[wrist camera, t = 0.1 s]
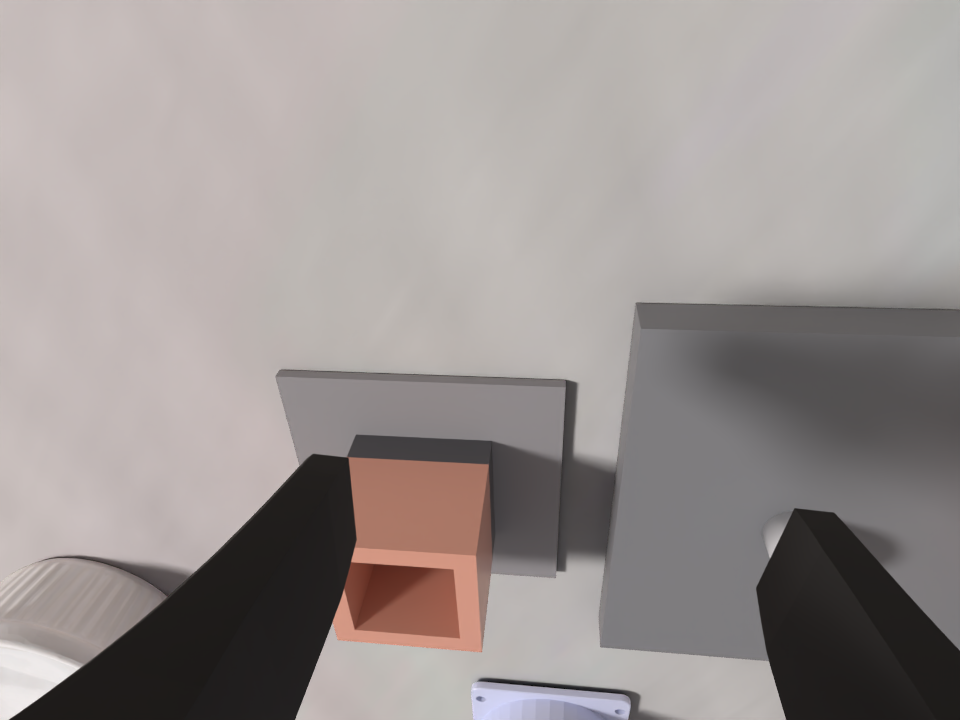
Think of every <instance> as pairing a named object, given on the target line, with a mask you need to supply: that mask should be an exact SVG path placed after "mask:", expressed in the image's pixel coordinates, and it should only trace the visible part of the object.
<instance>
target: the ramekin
mask: <svg viewBox="0 0 960 720" xmlns="http://www.w3.org/2000/svg"><path fill="white" fill-rule="evenodd" d="M166 598H167V596H166V595H165V594H164V593H162V592H161V591H160V590H158V589H157V588H156V587H154V586H153V585H151V584H150V583H148V582H146V581H145V580H143V579H141V578H139V577H137V576H135V575H133V574H131V573H129V572H126V571H124V570H122V569H119V568H116V567H113V566H110V565H107V564H104V563H100V562H96V561H91V560H86V559H79V558H54V559H48V560H44V561H40V562H37V563H33V564H31V565H28V566H25V567H23V568H21V569H19V570H17V571H15V572H13V573H12V574H10V575H9V576H7V577H6V578H5V579H4V580H3V581H2V582H1V583H0V720H9V719H10V718H12V717H13V716H15V715H16V714H18V713H19V712H20V711H22V710H23V709H25V708H26V707H28V706H29V705H30V704H32V703H33V702H35V701H36V700H37V699H39V698H40V697H42V696H43V695H44V694H46V693H47V692H48V691H50V690H51V689H52V688H54V687H55V686H57V685H58V684H59V683H61V682H62V681H63V680H65V679H66V678H67V677H69V676H70V675H71V674H73V673H74V672H75V671H77V670H78V669H79V668H81V667H82V666H83V665H85V664H86V663H88V662H89V661H90V660H92V659H93V658H94V657H95V656H97V655H98V654H99V653H101V652H102V651H103V650H104V649H106V648H107V647H108V646H109V645H111V644H112V643H113V642H114V641H116V640H117V639H118V638H119V637H121V636H122V635H123V634H124V633H126V632H127V631H128V630H129V629H131V628H132V627H133V626H134V625H135V624H137V623H138V622H139V621H140V620H141V619H143V618H144V617H145V616H146V615H147V614H149V613H150V612H151V611H152V610H153V609H154V608H156V607H157V606H158V605H159V604H160V603H161V602H163V601H164V600H165V599H166Z"/></svg>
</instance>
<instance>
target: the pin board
mask: <svg viewBox="0 0 960 720" xmlns="http://www.w3.org/2000/svg"><path fill="white" fill-rule="evenodd" d="M794 508H799V509H807V510H816V511H825V512H834V513H835V514H836V515H837V516H838V517H839V518H840V519H841V520H842V521H843V522H844V523H845V525H846V526H847V527H848V528H849V529H850V530H851V531H852V532H853V533H854V535H855V536H856V537H857V538H858V539H859V540H860V541H861V542H862V543H863V545H864V546H865V547H866V548H867V549H868V550H869V551H870V552H871V554H872V555H873V556H874V557H875V558H876V559H877V560H878V561H879V563H880V564H881V565H882V566H883V567H884V568H885V569H886V570H887V572H888V573H889V574H890V575H891V576H892V577H893V578H894V579H895V581H896V582H897V583H898V584H899V585H900V586H901V587H902V588H903V589H904V591H905V592H906V593H907V594H908V595H909V596H910V597H911V598H912V599H913V601H914V602H915V603H916V604H917V605H918V606H919V607H920V608H921V609H922V610H923V612H924V613H925V614H926V615H927V616H928V617H929V618H930V619H931V620H932V621H933V622H934V623H935V625H936V626H937V627H938V628H939V629H940V630H941V631H942V632H943V633H944V634H945V635H946V636H947V637H948V639H949V640H950V641H951V642H952V643H953V644H954V645H955V646H956V647H957V648H958V649H959V650H960V310H932V309H886V308H840V307H794V306H748V305H703V304H657V303H636V306H635V315H634V323H633V332H632V340H631V348H630V357H629V365H628V374H627V382H626V391H625V399H624V407H623V416H622V424H621V433H620V441H619V450H618V458H617V467H616V475H615V483H614V492H613V500H612V509H611V517H610V526H609V534H608V542H607V551H606V559H605V568H604V576H603V585H602V593H601V601H600V610H599V630H600V647H604V648H616V649H629V650H641V651H653V652H665V653H677V654H689V655H702V656H714V657H726V658H738V659H750V660H763V661H769V659H768V655H767V652H766V646H765V641H764V635H763V630H762V624H761V618H760V612H759V605H758V598H757V592H756V587H757V585H758V583H759V581H760V578H761V576H762V574H763V572H764V570H765V568H766V566H767V564H768V562H769V560H770V558H771V556H772V554H773V552H774V549H775V547H776V545H777V543H778V541H779V539H780V537H781V535H782V533H783V531H784V529H785V527H786V525H787V523H788V520H789V518H790V516H791V514H792V512H793V510H794Z"/></svg>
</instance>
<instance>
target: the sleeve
mask: <svg viewBox="0 0 960 720" xmlns="http://www.w3.org/2000/svg"><path fill="white" fill-rule="evenodd" d="M347 458H349V466H350V476H351V486H352V496H353V506H354V516H355V526H356V537H357V541H356V545H355V549H354V553H353V557H352V561H351V565H350V568H349V572H348V576H347V580H346V583H345V587H344V591H343V595H342V598H341V601H340V603H339V606H338V609H337V611H336V614H335V617H334V619H333V624H334V628H335V631H336V635H337V638H338V640H343V641H355V642H367V643H379V644H391V645H402V646H414V647H426V648H438V649H450V650H461V651H473V652H482V647H483V638H484V629H485V620H486V612H487V603H488V594H489V585H490V576H491V568H492V559H493V550H494V541H495V512H494V482H493V453H492V441H484V440H463V439H442V438H420V437H399V436H378V435H356V436H355V438H354V440H353V443H352V445H351V448H350V450H349V453H348V455H347Z"/></svg>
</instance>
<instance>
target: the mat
mask: <svg viewBox="0 0 960 720" xmlns="http://www.w3.org/2000/svg"><path fill="white" fill-rule="evenodd" d="M276 381H277V384H278V388H279V392H280V395H281V399H282V403H283V406H284V410H285V414H286V417H287V421H288V425H289V428H290V432H291V436H292V439H293V443H294V447H295V451H296V454H297V458H298V462H299V465H301V464H302V463H303V462H304V461H305V460H306V459H307V458H308V457H309V456H310V455H312V454H321V455H329V456H338V457H347V455H348V453H349V450H350V448H351V445H352V443H353V440H354V438H355V436H356V435H378V436H399V437H420V438H442V439H463V440H484V441H492V453H493V482H494V512H495V541H494V550H493V559H492V568H491V574H505V575H519V576H533V577H548V578H556V567H557V547H558V528H559V508H560V488H561V469H562V449H563V429H564V410H565V390H566V380H546V379H518V378H490V377H462V376H434V375H406V374H378V373H350V372H321V371H293V370H279V372H278V373H277V375H276Z"/></svg>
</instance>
